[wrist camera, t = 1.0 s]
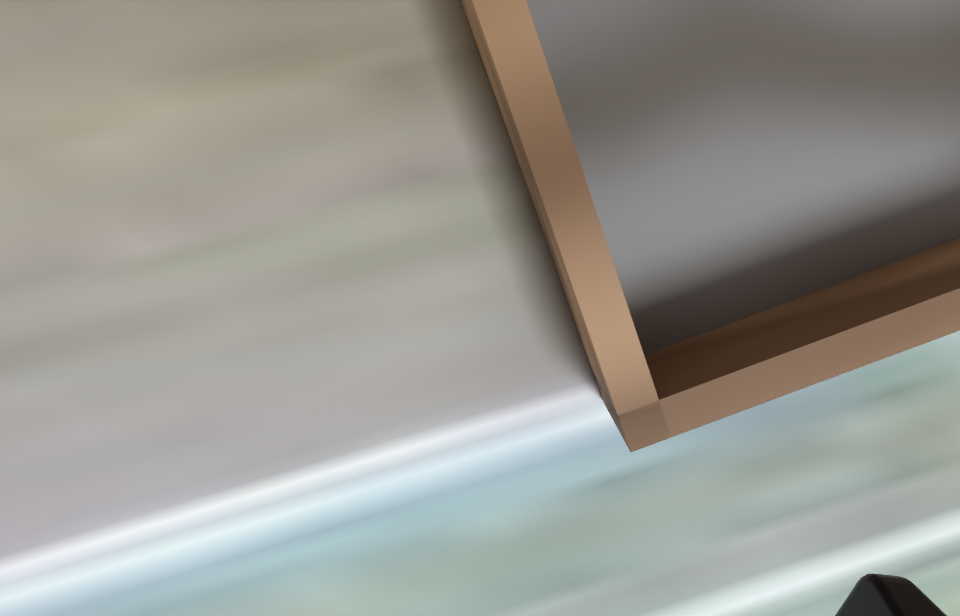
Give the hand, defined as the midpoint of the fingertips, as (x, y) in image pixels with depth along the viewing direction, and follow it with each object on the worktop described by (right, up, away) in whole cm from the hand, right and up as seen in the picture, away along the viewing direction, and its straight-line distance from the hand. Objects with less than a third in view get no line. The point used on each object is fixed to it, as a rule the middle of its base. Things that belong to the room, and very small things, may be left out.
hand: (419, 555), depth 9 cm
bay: (+8, +8, +13) cm, 17 cm away
